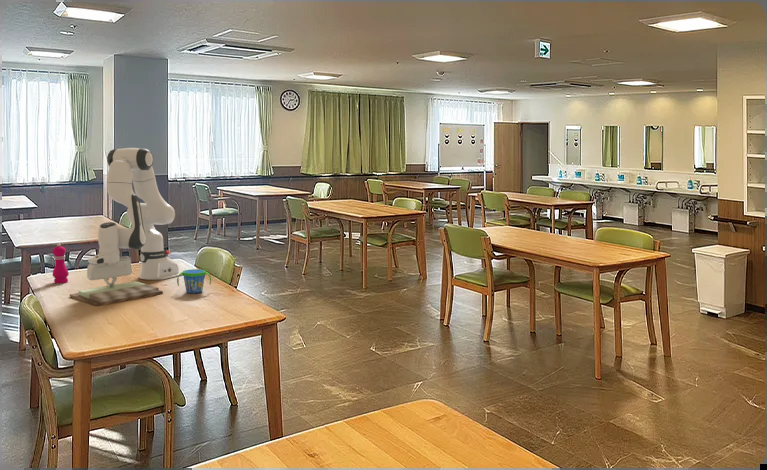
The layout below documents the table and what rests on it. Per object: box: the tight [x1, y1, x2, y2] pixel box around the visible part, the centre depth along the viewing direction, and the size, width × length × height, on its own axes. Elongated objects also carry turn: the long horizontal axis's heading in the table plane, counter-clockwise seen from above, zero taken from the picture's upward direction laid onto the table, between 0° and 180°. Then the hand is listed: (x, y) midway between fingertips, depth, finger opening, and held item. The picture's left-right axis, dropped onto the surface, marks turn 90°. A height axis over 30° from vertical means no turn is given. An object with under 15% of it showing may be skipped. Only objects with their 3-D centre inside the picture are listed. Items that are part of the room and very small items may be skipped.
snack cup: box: [176, 268, 212, 294], centre depth 310 cm, size 16×10×10 cm
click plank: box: [77, 280, 148, 298], centre depth 305 cm, size 28×10×2 cm, turn 140°
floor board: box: [69, 284, 164, 307], centre depth 303 cm, size 32×25×3 cm
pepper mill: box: [52, 242, 69, 284], centre depth 328 cm, size 7×7×20 cm
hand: (110, 286), depth 305 cm, fingers closed, pressing on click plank
